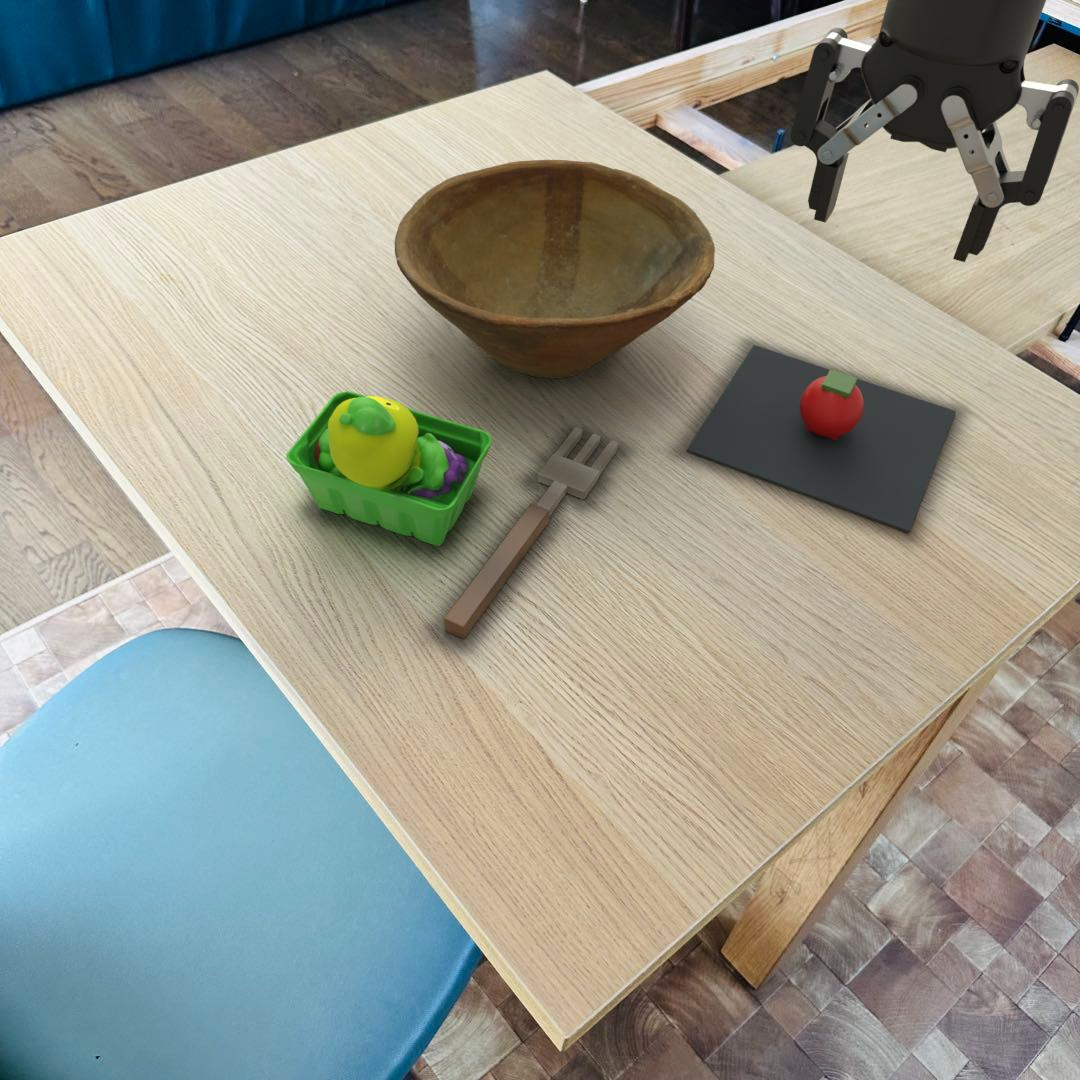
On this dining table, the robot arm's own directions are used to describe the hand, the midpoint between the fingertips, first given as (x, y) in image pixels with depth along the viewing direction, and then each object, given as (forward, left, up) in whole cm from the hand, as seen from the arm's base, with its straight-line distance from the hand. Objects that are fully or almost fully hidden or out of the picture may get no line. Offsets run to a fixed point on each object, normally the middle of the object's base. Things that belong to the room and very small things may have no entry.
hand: (891, 235), depth 62 cm
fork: (+14, +20, -17) cm, 29 cm away
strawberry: (0, 0, -16) cm, 16 cm away
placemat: (0, 0, -17) cm, 16 cm away
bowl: (+22, +1, -17) cm, 28 cm away
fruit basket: (+23, +22, -17) cm, 36 cm away
